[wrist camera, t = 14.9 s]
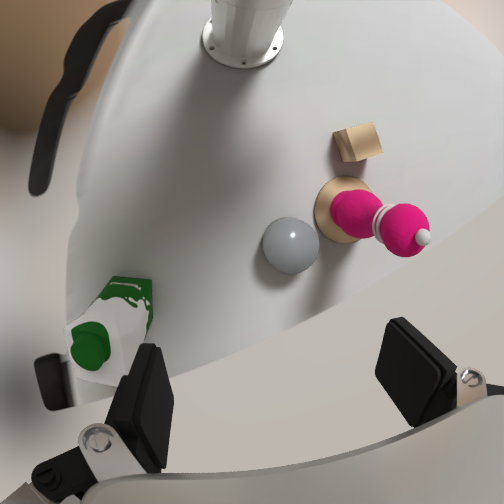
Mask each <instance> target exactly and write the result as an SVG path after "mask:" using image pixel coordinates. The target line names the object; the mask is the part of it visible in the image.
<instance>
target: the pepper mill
mask: <svg viewBox="0 0 504 504" xmlns="http://www.w3.org/2000/svg"><path fill="white" fill-rule="evenodd" d="M330 214H331V218H332V220H333V222H334V223H335V224H336V225H337V226H339V227H340V228H341V229H342V230H343V231H344V232H345V233H346V234H347V235H349V236H351V237H354V238H359V239H363V238H369V237H372V236H375V238H376V239H377V240H378V241H379V242H381V243H383V244H384V245H385V246H386V248H387V249H388V250H389V251H390V252H392V253H393V254H395V255H397V256H400V257H411V256H414V255H416V254H418V253H419V252H420V251H422V249H423V248H424V247H425V246H426V245H428V244H429V243H430V241H431V234H430V232H429V223H428V220H427V217H426V216H425V214H424V213H423V212H422V211H421V210H420V209H419V208H418V207H416V206H414V205H411V204H406V203H405V204H398V205H394V204H386V205H384V206H383V204H382V203H381V201H380V200H379V199H378V198H377V197H376V196H375V195H374V194H372V193H371V192H369V191H366V190H362V189H356V190H352V191H349V190H346V191H342V192H340V193H339V194H337V195H336V196H335V197H334V199H333V201H332V203H331V207H330Z"/></svg>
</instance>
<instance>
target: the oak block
mask: <svg viewBox="0 0 504 504" xmlns="http://www.w3.org/2000/svg"><path fill="white" fill-rule="evenodd" d="M333 135H334V137H335V140H336V143H337V146H338V149H339V152H340V155H341V158H342V161H343V162H357V161H360V160H363V159H366V158H369V157H372V156H375V155H379V154H382V153H383V151H382V148H381V144H380V141H379V138H378V135H377V132H376V129H375V126H374V123H373V122H370V123H366V124H362V125H359V126H355V127H351V128H347V129H344V130H340V131H337V132H334V133H333Z"/></svg>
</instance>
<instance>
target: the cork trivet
mask: <svg viewBox="0 0 504 504" xmlns="http://www.w3.org/2000/svg"><path fill="white" fill-rule="evenodd" d="M356 189H362V190H366V191H369V192H371V193H372V191H371V190H370V188H369V187H368V186H367V185H366V184H365V183H364V182H363V181H361V180H360V179H357V178H355V177H349V176H341V177H337V178H334V179H332V180H330V181H329V182H328V183H326V184H325V185H324V186H323V188H322V189H321V190H320V192H319V194H318V196H317V198H316V202H315V209H314V212H315V219H316V223H317V225H318V227H319V229H320V230H321V232H322V233H323V234H324V235H325V236H326V237H328V238H329V239H331V240H333V241H335V242H338V243H351V242H355V241H357V240H359V238H354V237H351V236H349V235H347V234H346V233H345V232H344V231H343V230H342V229H341V228H340V227H339V226H337V225H336V224H335V223H334V222H333V220H332V218H331V214H330V207H331V203H332V201H333V199H334V197H335V196H336V195H337V194H339V193H340V192H342V191H346V190H349V191H352V190H356ZM372 194H373V193H372Z"/></svg>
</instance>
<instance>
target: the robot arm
mask: <svg viewBox="0 0 504 504" xmlns="http://www.w3.org/2000/svg"><path fill="white" fill-rule="evenodd" d="M292 1H293V0H211V11H212V17H211V18H210V19H209V20H208V21H207V23H206V24H205V26H204V29H203V33H202V39H203V44H204V47H205V49H206V51H207V52H208V54H209V55H210V56H211V57H212V58H213V59H215V60H216V61H218V62H219V63H221V64H223V65H226V66H229V67H234V68H245V69H246V68H254V67H258V66H261V65H263V64H266V63H268V62H269V61H271V60H272V59H273V58H274V57H275V56H276V55H277V54H278V52H279V51H280V49H281V47H282V44H283V31H282V28H281V26H280V25H281V23H282V21H283V19H284V17H285V15H286V13H287V11H288V9H289V7H290V5H291V3H292ZM211 49H213V50H211ZM274 50H275V51H274ZM242 63H245V65H244V64H242ZM456 368H457V366H456V365H455V364H454V363H453V362H452V361H451V360H450V359H449V358H448V357H447V356H446V355H444V354H443V353H442V352H441V351H440V350H439V349H438V348H437V347H436V346H435V345H434V344H433V343H431V342H430V341H429V340H428V339H427V338H426V337H425V336H424V335H423V334H421V332H420V331H418V330H417V329H416V328H415V327H414V326H413V325H412V324H411V323H409V322H408V321H407V320H406V319H405V318H403V317H399V318H394V319H391V320H390V321H389V323H387V325H386V328H385V333H384V337H383V342H382V345H381V349H380V354H379V357H378V361H377V365H376V369H375V375H376V378H377V379H378V381H379V382H380V383H381V385H382V386H383V388H384V389H385V391H386V392H387V393H388V395H389V396H390V398H391V399H392V400H393V402H394V403H395V405H396V406H397V408H398V409H399V411H400V412H401V414H402V415H403V417H404V418H405V419H406V421H407V422H408V424H409V425H410V426H411V427H414V429H411V430H409V431H407V432H404V433H402V434H399V435H397V436H394V437H392V438H389V439H386V440H383V441H381V442H378V443H375V444H372V445H369V446H366V447H362V448H359V449H356V450H353V451H349V452H346V453H342V454H338V455H334V456H331V457H326V458H323V459H318V460H313V461H309V462H304V463H298V464H293V465H287V466H281V467H274V468H267V469H258V470H248V471H237V472H221V473H161V469H165V468H166V465H167V455H168V445H169V437H170V429H171V421H172V413H173V406H174V396H173V392H172V389H171V386H170V382H169V378H168V374H167V371H166V367H165V363H164V359H163V355H162V351H161V348H160V347H156V345H155V344H154V343H141V344H140V345H139V348H138V350H137V353H136V356H135V358H134V361H133V363H132V366H131V369H130V371H129V374H128V375H123V376H122V378H121V380H120V382H119V385H118V387H117V390H116V393H115V395H114V398H113V401H112V404H111V406H110V409H109V412H108V415H107V417H106V420H105V423H104V424H102V423H97V424H92V425H89V426H87V427H86V428H84V429H83V430H82V431H81V433H80V435H79V437H78V444H79V446H77V447H76V448H73V449H71V450H69V451H67V452H65V453H63V454H60V455H58V456H56V457H54V458H52V459H49V460H47V461H45V462H42V463H40V464H39V465H37V466H36V467H35V468H34V470H33V472H32V477H31V479H32V482H31V483H30V484H28V483H27V482H25V483H24V484H23V485H22V486H21V487H20V488H18V489H17V490H16V491H15V492H13V493H12V494H11V495H10V496H8V497H7V498H6V499H5V500H4V501H3V502H1V503H0V504H504V387H503V386H497V385H491V384H486V380H485V377H484V375H483V374H482V373H481V372H480V371H478V370H476V369H474V368H463V369H461V370H460V371H459V372H458V374H457V373H456V372H455V370H456Z"/></svg>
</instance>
